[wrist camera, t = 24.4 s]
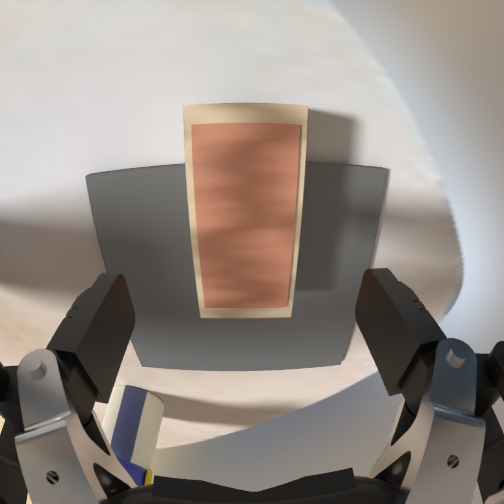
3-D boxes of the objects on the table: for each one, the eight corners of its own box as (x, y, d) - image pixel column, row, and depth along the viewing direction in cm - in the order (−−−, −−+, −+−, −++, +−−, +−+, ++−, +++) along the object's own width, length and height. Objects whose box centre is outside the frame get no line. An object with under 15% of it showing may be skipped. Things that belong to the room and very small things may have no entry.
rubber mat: (143, 362, 27) (141, 366, 26) (89, 173, 17) (85, 176, 17) (339, 360, 27) (340, 364, 27) (382, 167, 18) (386, 169, 17)
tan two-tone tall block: (200, 319, 18) (182, 105, 12) (206, 286, 21) (195, 106, 15) (291, 318, 18) (308, 105, 12) (284, 285, 21) (295, 106, 15)
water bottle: (169, 393, 30) (146, 580, 8) (166, 419, 34) (148, 570, 12) (106, 375, 28) (61, 552, 7) (113, 405, 32) (81, 550, 10)
